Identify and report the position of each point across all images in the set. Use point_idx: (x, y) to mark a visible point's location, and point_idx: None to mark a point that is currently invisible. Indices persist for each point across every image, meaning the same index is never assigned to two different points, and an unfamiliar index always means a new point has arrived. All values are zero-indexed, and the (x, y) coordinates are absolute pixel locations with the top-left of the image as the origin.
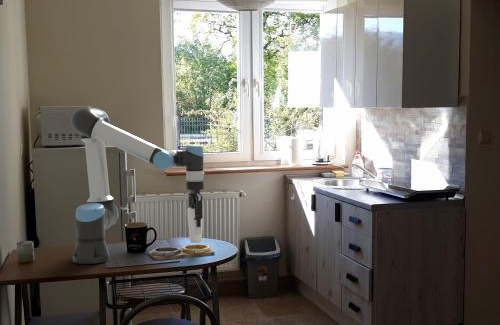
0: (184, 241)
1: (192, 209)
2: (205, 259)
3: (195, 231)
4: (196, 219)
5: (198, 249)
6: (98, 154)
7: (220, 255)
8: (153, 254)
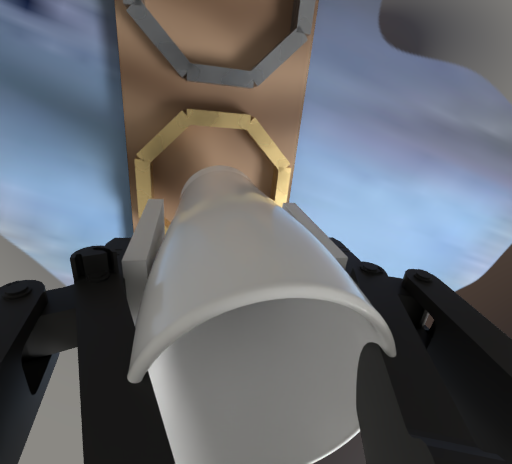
0: (465, 213)
1: (151, 338)
2: (37, 178)
3: (144, 209)
4: (89, 273)
5: (140, 183)
6: None
7: None
8: None
